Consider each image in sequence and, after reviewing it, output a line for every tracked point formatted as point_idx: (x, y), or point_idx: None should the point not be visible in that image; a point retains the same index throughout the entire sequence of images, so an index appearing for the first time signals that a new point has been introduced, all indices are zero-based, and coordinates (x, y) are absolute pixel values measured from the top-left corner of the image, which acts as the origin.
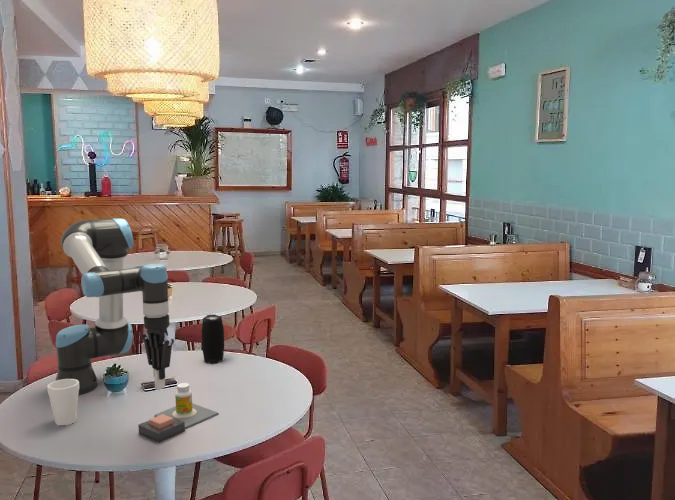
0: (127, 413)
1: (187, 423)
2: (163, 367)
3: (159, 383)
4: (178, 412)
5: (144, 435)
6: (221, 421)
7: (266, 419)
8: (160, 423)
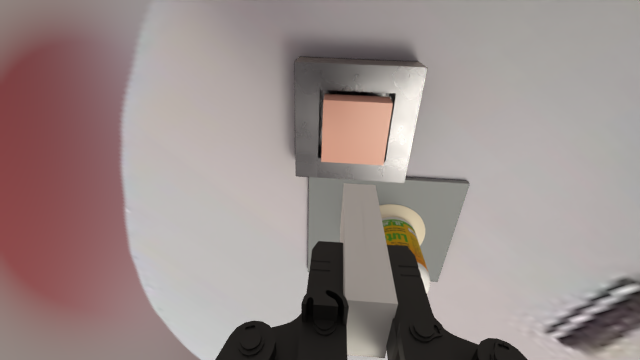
0: (583, 149)
1: (324, 193)
2: (228, 342)
3: (342, 219)
4: (392, 221)
5: (383, 60)
6: (268, 246)
7: (196, 294)
8: (324, 104)
